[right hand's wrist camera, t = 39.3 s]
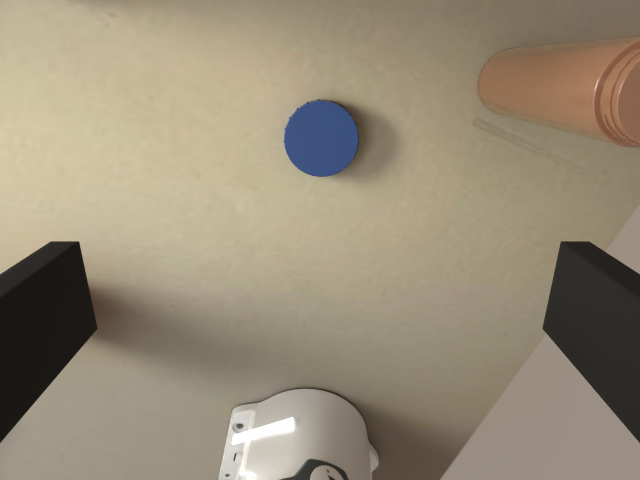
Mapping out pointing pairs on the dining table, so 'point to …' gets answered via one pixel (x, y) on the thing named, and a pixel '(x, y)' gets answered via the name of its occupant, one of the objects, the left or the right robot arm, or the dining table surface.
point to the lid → (321, 138)
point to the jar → (570, 87)
